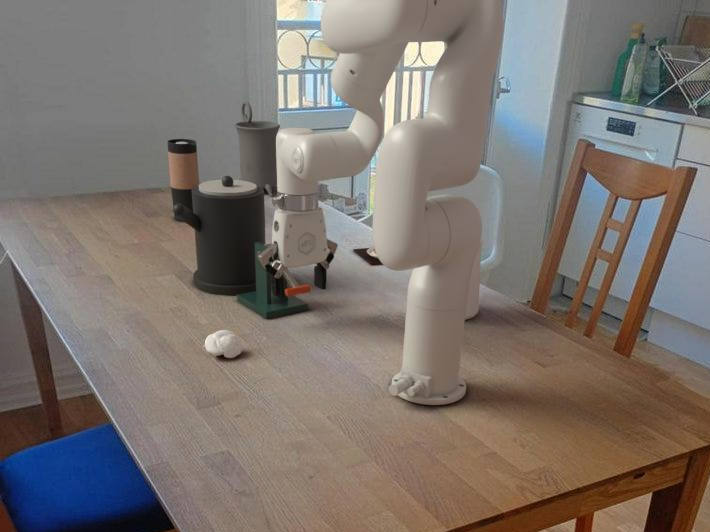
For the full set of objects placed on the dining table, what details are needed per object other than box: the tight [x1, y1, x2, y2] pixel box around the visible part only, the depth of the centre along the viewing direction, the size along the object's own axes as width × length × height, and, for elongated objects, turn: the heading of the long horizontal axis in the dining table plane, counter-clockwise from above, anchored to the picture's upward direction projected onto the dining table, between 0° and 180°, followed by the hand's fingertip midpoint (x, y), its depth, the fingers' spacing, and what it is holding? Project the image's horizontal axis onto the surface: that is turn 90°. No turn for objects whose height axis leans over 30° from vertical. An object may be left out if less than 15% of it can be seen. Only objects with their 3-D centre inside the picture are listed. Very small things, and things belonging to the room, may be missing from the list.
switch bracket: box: [236, 242, 309, 320], centre depth 160 cm, size 12×10×13 cm
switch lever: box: [265, 242, 312, 296], centre depth 156 cm, size 13×5×2 cm, turn 36°
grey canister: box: [234, 100, 281, 197], centre depth 243 cm, size 19×15×25 cm
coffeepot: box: [465, 238, 484, 321], centre depth 159 cm, size 11×25×19 cm, turn 168°
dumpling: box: [202, 329, 243, 359], centre depth 141 cm, size 7×5×4 cm
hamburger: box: [352, 246, 383, 266], centre depth 194 cm, size 12×12×6 cm
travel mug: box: [167, 138, 200, 223], centre depth 213 cm, size 8×8×20 cm
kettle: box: [172, 175, 267, 296], centre depth 169 cm, size 20×21×23 cm
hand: (299, 292), depth 154 cm, fingers open, 9 cm apart
